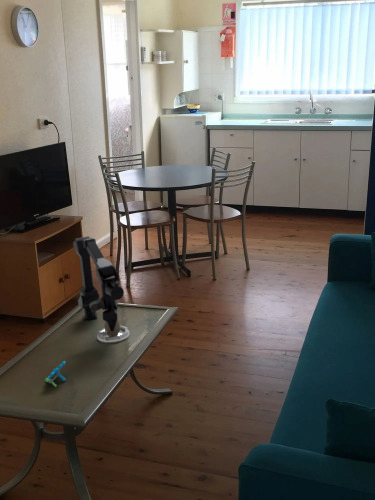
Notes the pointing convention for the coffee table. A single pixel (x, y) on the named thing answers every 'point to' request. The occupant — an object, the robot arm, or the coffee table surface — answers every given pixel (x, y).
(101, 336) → the rosette plate
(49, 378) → the blue green rod structure
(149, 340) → the coffee table surface
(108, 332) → the vase
